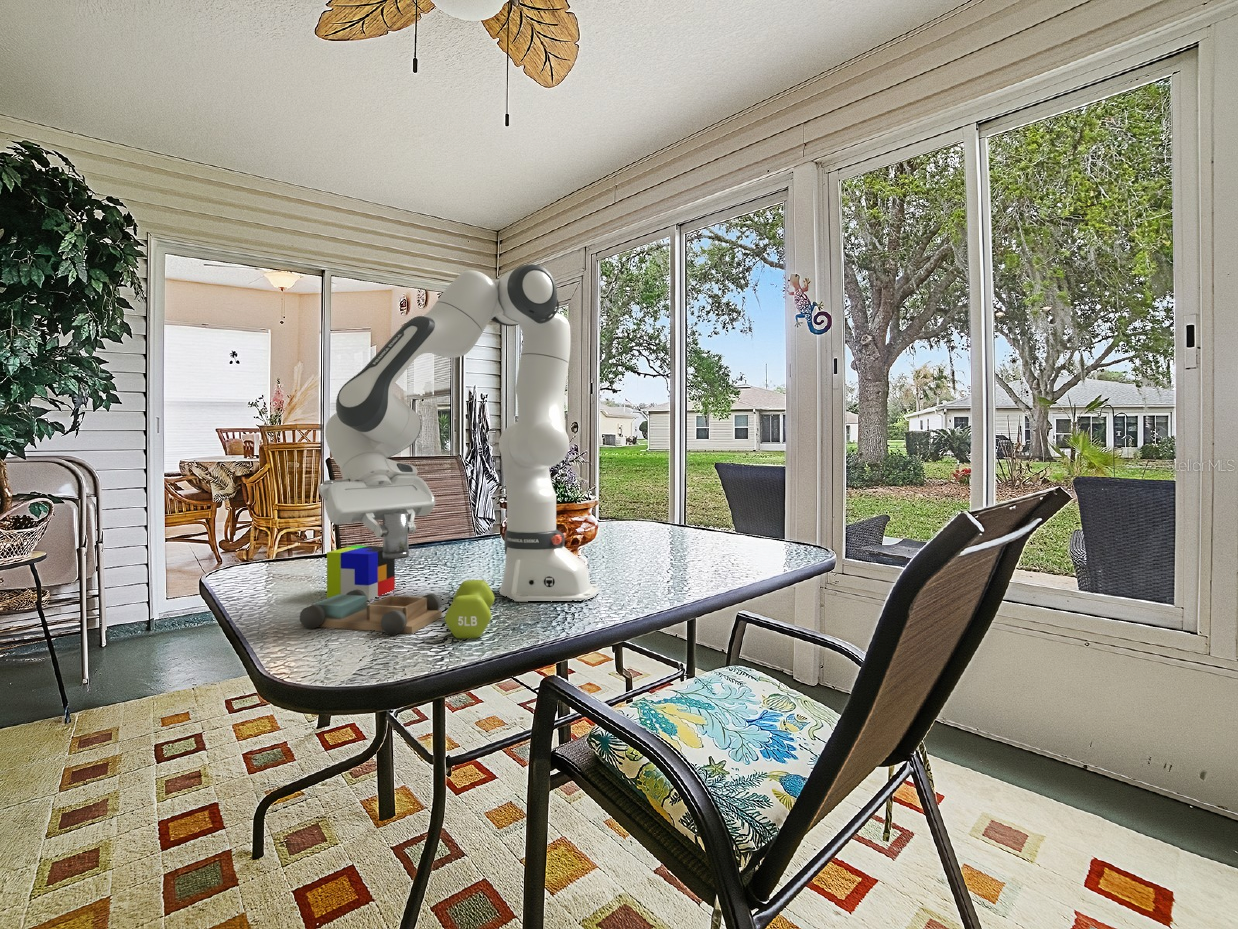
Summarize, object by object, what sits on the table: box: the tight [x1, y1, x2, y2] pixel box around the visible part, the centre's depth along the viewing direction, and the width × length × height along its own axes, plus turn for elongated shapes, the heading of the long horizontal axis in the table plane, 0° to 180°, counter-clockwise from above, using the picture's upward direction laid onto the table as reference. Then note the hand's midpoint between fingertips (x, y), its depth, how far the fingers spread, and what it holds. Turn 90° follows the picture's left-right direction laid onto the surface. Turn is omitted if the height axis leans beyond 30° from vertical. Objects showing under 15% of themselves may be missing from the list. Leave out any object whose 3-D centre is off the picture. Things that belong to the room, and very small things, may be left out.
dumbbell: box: [444, 579, 496, 639], centre depth 113 cm, size 16×8×7 cm, turn 8°
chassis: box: [299, 589, 443, 636], centre depth 116 cm, size 22×14×4 cm, turn 79°
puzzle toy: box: [326, 545, 396, 601], centre depth 137 cm, size 10×10×10 cm
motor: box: [382, 512, 410, 560], centre depth 114 cm, size 5×5×8 cm
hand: (397, 533), depth 114 cm, fingers closed on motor, 4 cm apart
